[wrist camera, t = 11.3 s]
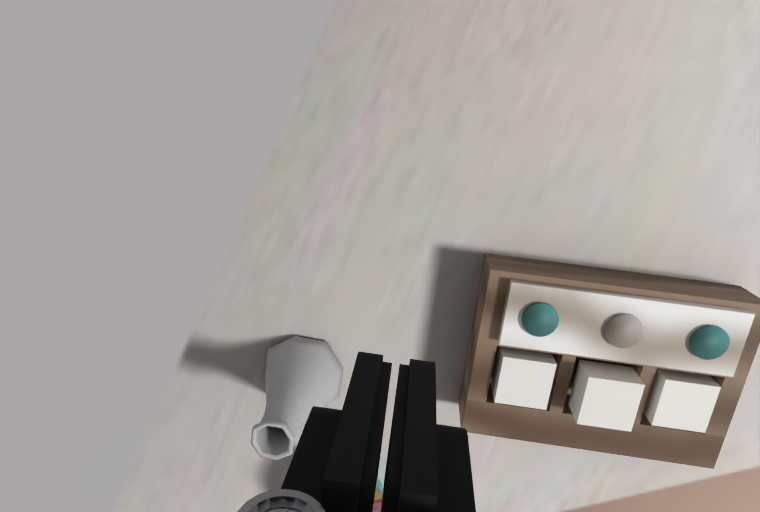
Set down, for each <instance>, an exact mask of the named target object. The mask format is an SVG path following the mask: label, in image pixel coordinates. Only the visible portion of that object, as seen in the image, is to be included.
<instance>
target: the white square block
mask: <svg viewBox="0 0 760 512" xmlns="http://www.w3.org/2000/svg"><path fill="white" fill-rule="evenodd" d="M720 389H721V387H720V386H719V384H718V383H717V382H716V381H715V380H714V379H713V378H712V377H711V376H710V375H705V374H697V373H690V372H683V371H676V370H668V369H661V368H657V369H656V372H655V376H654V379H653V382H652V386H651V389H650V392H649V396H648V399H647V402H646V406H645V409H644V412H643V413H644V415H645V416H646V418H647V419H648V421H649V422H650V424H651V425H653V426H660V427H667V428H674V429H681V430H688V431H695V432H702V433H705V432H706V429H707V426H708V424H709V421H710V418H711V415H712V412H713V409H714V406H715V403H716V401H717V398H718V395H719V392H720Z"/></svg>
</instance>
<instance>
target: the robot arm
mask: <svg viewBox="0 0 760 512" xmlns="http://www.w3.org/2000/svg"><path fill="white" fill-rule="evenodd" d="M391 367H392V363H388V362H383V355H379V354H372V353H364V352H358V355H357V359H356V363H355V366H354V370H353V373H352V377H351V380H350V384H349V388H348V391H347V395H346V398H345V402H344V406H343V409H342V410H337V409H330V408H323V407H316V406H313V407H312V409H311V411H310V414H309V416H308V419H307V422H306V424H305V427H304V429H303V432H302V435H301V437H300V440H299V443H298V445H297V448H296V451H295V453H294V456H293V459H292V461H291V464H290V466H289V469H288V472H287V474H286V477H285V480H284V482H283V485H282V488H281V489H279V490H271V491H267V492H264V493H261V494H258V495H257V496H255V497H253V498H252V499H250V500H248V501H247V502H246V503H245V504H244V505H243V506H242V507H241V508H240V509H239V510H238V512H373V505H374V498H375V490H376V483H377V476H378V468H379V461H380V453H381V445H382V437H383V429H384V421H385V414H386V406H387V398H388V390H389V382H390V375H391ZM381 512H476V509H475V500H474V491H473V481H472V472H471V463H470V454H469V444H468V435H467V430H466V429H465V428H459V427H452V426H445V425H438V424H436V374H435V362H428V361H421V360H414V359H410V364H409V365H402V364H400V367H399V374H398V382H397V389H396V397H395V404H394V412H393V419H392V427H391V434H390V442H389V449H388V457H387V464H386V472H385V480H384V488H383V496H382V505H381Z"/></svg>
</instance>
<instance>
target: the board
mask: <svg viewBox="0 0 760 512" xmlns="http://www.w3.org/2000/svg"><path fill="white" fill-rule="evenodd" d="M759 343H760V298H759V297H757V296H755V295H754V294H752V293H751V292H749V291H747V290H746V289H744V288H742V287H740V286H733V285H725V284H717V283H709V282H701V281H694V280H686V279H678V278H670V277H663V276H655V275H647V274H639V273H631V272H624V271H616V270H608V269H600V268H593V267H585V266H577V265H569V264H561V263H554V262H546V261H538V260H530V259H523V258H515V257H507V256H499V255H491V254H485V258H484V263H483V269H482V275H481V280H480V286H479V292H478V297H477V303H476V309H475V314H474V320H473V326H472V331H471V337H470V343H469V348H468V354H467V360H466V365H465V371H464V377H463V382H462V388H461V394H460V399H459V412H460V423H461V428H465V429H466V430H467V432H469V433H476V434H483V435H490V436H496V437H503V438H510V439H517V440H524V441H530V442H537V443H544V444H551V445H557V446H564V447H571V448H578V449H584V450H591V451H598V452H605V453H611V454H618V455H625V456H632V457H639V458H645V459H652V460H659V461H666V462H672V463H679V464H686V465H693V466H699V467H706V468H713V469H714V466H715V463H716V461H717V458H718V455H719V452H720V450H721V447H722V444H723V441H724V439H725V436H726V433H727V431H728V428H729V425H730V422H731V420H732V417H733V414H734V411H735V409H736V406H737V403H738V400H739V398H740V395H741V392H742V389H743V387H744V384H745V381H746V378H747V376H748V373H749V370H750V367H751V365H752V362H753V359H754V356H755V354H756V351H757V348H758V345H759ZM498 346H502V347H509V348H516V349H524V350H531V351H538V352H545V353H552V355H553V357H554V359H555V361H556V363H557V366H556V371H555V375H554V379H553V383H552V387H551V392H550V396H549V400H548V404H547V409H546V410H543V409H536V408H529V407H522V406H515V405H508V404H501V403H494V398H493V394H492V389H491V381H492V376H493V371H494V365H495V360H496V355H497V350H498ZM579 360H585V361H592V362H599V363H607V364H614V365H621V366H628V367H632V368H633V369H634V370H635V372H636V373H637V374H638V376H639V377H640V379H641V380H642V381H643V383H644V384H645V387H644V391H643V394H642V397H641V401H640V404H639V407H638V411H637V414H636V418H635V421H634V424H633V428H632V431H631V432H629V431H622V430H615V429H608V428H601V427H594V426H587V425H581V424H577V423H576V421H575V419H574V416H573V414H572V412H571V410H570V407H569V405H568V403H569V399H570V395H571V391H572V387H573V383H574V379H575V375H576V371H577V367H578V363H579ZM657 368H661V369H668V370H676V371H683V372H690V373H697V374H705V375H710V376H711V377H712V378H713V379H714V380H715V381H716V382H717V383H718V384H719V386H720V387H721V389H720V392H719V395H718V398H717V401H716V403H715V406H714V409H713V412H712V415H711V418H710V421H709V424H708V426H707V429H706V432H705V433H702V432H695V431H688V430H681V429H674V428H667V427H660V426H653V425H651V424H650V422H649V421H648V419H647V418H646V416H645V415H644V413H643V412H644V409H645V406H646V402H647V399H648V396H649V392H650V389H651V386H652V382H653V379H654V376H655V372H656V369H657Z"/></svg>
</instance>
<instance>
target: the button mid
mask: <svg viewBox="0 0 760 512" xmlns="http://www.w3.org/2000/svg"><path fill="white" fill-rule="evenodd" d="M644 387H645V384H644V383H643V381H642V380H641V379H640V377H639V376H638V374H637V373H636V372H635V370H634V369H633V368H632V367H628V366H621V365H614V364H607V363H599V362H592V361H585V360H579V363H578V367H577V371H576V375H575V379H574V383H573V387H572V391H571V395H570V399H569V403H568V405H569V407H570V410H571V412H572V414H573V416H574V419H575V421H576V423H577V424H581V425H587V426H594V427H601V428H608V429H615V430H622V431H629V432H631V431H632V428H633V424H634V421H635V418H636V414H637V411H638V407H639V404H640V401H641V397H642V394H643V391H644Z"/></svg>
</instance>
